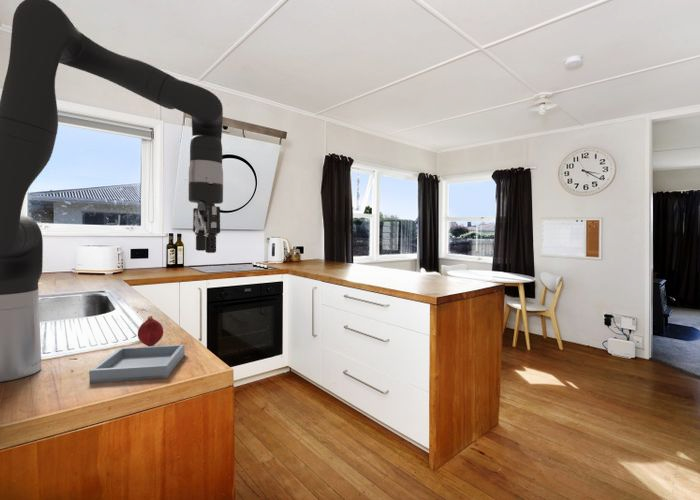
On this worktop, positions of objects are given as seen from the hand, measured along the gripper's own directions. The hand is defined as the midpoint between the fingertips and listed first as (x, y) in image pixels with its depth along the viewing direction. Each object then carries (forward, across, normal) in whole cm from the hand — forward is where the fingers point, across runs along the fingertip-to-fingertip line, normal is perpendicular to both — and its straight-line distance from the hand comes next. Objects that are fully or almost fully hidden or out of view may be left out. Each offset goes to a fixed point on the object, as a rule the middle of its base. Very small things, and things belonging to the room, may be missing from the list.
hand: (205, 251), depth 85 cm
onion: (+26, -15, -9) cm, 31 cm away
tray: (+25, 0, -13) cm, 28 cm away
